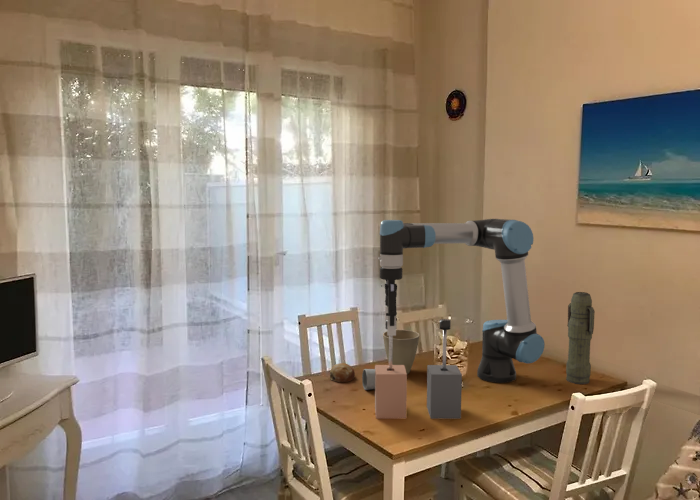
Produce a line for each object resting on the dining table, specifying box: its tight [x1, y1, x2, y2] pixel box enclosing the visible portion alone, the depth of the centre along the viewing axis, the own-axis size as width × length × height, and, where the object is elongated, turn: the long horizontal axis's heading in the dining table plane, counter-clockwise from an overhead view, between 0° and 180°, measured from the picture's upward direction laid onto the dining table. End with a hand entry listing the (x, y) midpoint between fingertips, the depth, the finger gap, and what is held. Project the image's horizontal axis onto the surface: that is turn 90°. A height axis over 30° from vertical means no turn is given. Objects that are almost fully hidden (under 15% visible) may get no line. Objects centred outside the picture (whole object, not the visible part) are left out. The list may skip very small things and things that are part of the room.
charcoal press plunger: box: [439, 318, 452, 371], centre depth 194 cm, size 8×8×22 cm
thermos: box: [565, 291, 595, 385], centre depth 226 cm, size 9×12×35 cm
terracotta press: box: [374, 364, 408, 419], centre depth 196 cm, size 10×12×15 cm
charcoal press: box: [426, 364, 463, 420], centre depth 196 cm, size 10×12×15 cm
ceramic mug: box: [361, 368, 375, 391], centre depth 220 cm, size 11×8×8 cm
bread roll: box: [329, 362, 356, 383], centre depth 231 cm, size 10×10×8 cm
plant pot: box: [382, 329, 420, 375], centre depth 238 cm, size 15×15×16 cm
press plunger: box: [385, 319, 393, 371], centre depth 194 cm, size 8×8×22 cm
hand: (390, 330), depth 193 cm, fingers open, 13 cm apart
